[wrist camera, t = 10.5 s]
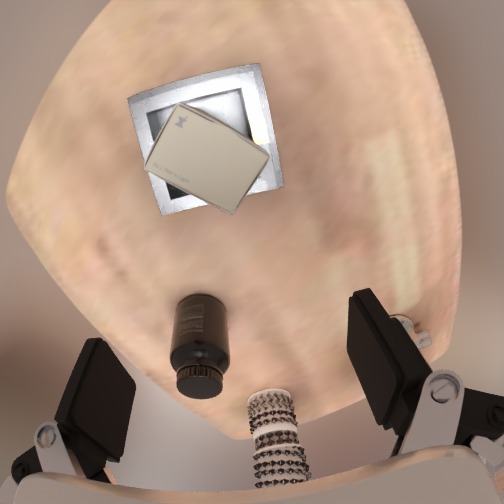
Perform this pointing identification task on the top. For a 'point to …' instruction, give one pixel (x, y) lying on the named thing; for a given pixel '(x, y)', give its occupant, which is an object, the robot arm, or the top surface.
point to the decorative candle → (276, 439)
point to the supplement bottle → (200, 347)
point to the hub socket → (219, 106)
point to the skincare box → (206, 158)
